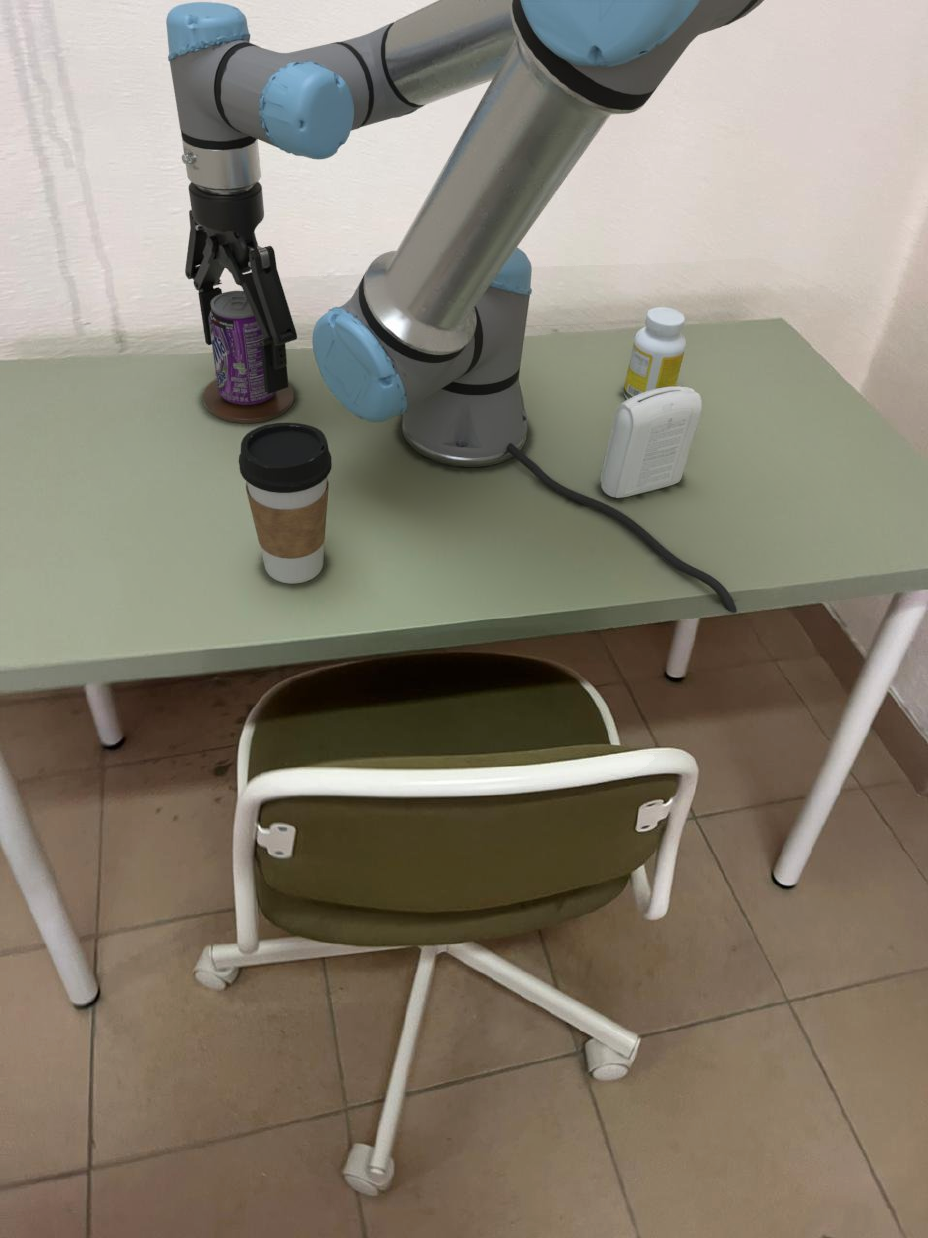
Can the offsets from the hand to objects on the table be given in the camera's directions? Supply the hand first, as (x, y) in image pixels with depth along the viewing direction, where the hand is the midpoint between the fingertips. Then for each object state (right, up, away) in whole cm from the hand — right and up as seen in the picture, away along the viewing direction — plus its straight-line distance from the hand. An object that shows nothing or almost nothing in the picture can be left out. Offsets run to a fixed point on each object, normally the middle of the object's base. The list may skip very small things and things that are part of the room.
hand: (245, 364), depth 110 cm
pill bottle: (+51, -2, +10) cm, 52 cm away
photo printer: (+47, -15, -3) cm, 49 cm away
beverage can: (0, -3, +3) cm, 4 cm away
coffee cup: (+9, -25, -17) cm, 32 cm away
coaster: (0, -3, +3) cm, 5 cm away
